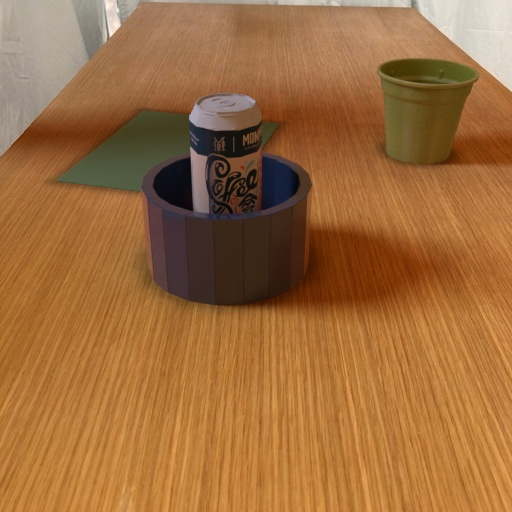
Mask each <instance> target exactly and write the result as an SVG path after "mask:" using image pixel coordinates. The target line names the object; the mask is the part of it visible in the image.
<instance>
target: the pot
mask: <svg viewBox="0 0 512 512" xmlns="http://www.w3.org/2000/svg"><path fill="white" fill-rule="evenodd" d="M140 193H141V205H142V216H143V217H142V218H143V224H144V225H143V229H144V237H145V238H144V239H145V240H144V241H145V251H146V261H147V262H146V263H147V269H148V272H149V274H150V276H151V279H152V280H153V282H154V283H155V284H157V285H158V286H159V287H160V288H161V289H163V290H164V291H166V293H169V295H173V296H175V297H178V298H180V299H183V300H185V301H188V302H192V303H198V304H203V305H204V304H205V305H211V306H243V305H244V306H245V305H249V304H254V303H258V302H264V301H267V300H270V299H271V300H272V299H273V298H276V297H278V296H280V295H282V294H284V293H286V292H289V291H290V290H292V289H293V288H294V287H296V285H297V284H298V283H299V282H300V281H302V280H303V279H304V278H305V275H306V272H307V269H308V267H309V260H310V241H311V240H310V238H311V222H312V221H311V219H312V199H313V182H312V178H311V176H310V173H309V172H308V171H307V170H306V169H304V167H302V166H301V165H300V164H299V163H298V162H296V161H293V160H291V159H289V158H286V157H284V156H282V155H279V154H278V155H277V154H274V153H270V152H266V151H262V198H261V211H255V212H249V213H243V214H210V213H202V212H195V211H193V194H192V172H191V153H190V152H189V153H186V154H182V155H179V156H175V157H172V158H169V159H167V160H165V161H163V162H161V163H159V164H157V165H155V166H153V167H152V168H151V169H150V170H149V171H148V172H147V173H146V174H145V175H144V177H143V181H142V185H141V192H140Z"/></svg>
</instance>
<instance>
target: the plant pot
mask: <svg viewBox="0 0 512 512" xmlns="http://www.w3.org/2000/svg"><path fill="white" fill-rule="evenodd" d="M376 74H377V76H379V78H380V87H381V90H382V91H383V108H384V109H383V110H384V111H383V112H384V132H385V135H384V137H385V152H386V154H387V155H388V156H389V157H391V158H392V159H394V160H397V161H399V162H403V163H406V164H407V163H408V164H413V165H434V164H439V163H443V162H445V161H447V160H448V158H449V157H450V155H451V151H452V148H453V145H454V141H455V137H456V134H457V131H458V127H459V124H460V120H461V117H462V113H463V111H464V108H465V104H466V102H467V99H468V97H469V96H470V95H471V93H472V89H473V86H474V84H475V83H477V82H478V80H479V78H480V72H479V71H478V69H476V68H475V67H473V66H470V65H468V64H465V63H461V62H458V61H453V60H448V59H441V58H429V57H407V58H405V57H404V58H395V59H390V60H386V61H384V62H381V63H380V64H379V65H377V67H376Z"/></svg>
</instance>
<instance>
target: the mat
mask: <svg viewBox="0 0 512 512" xmlns="http://www.w3.org/2000/svg"><path fill="white" fill-rule="evenodd" d="M189 116H190V114H185V113H175V112H165V111H164V112H163V111H153V110H145V109H143V110H141V111H140V113H138V114H136V116H134V117H133V118H131V120H129V121H128V122H127V123H126V124H124V125H123V126H122V127H120V129H118V130H117V131H115V132H114V133H113V134H112V135H110V136H109V137H108V138H106V139H105V140H104V142H101V144H99V145H98V146H97V147H95V148H94V149H93V150H92V151H90V152H89V153H88V154H86V156H85V157H82V158H81V160H80V161H78V162H77V163H76V164H75V165H73V166H72V167H71V168H70V169H69V170H67V171H66V172H64V173H63V174H62V175H61V176H59V178H57V179H56V180H55V182H57V183H65V184H73V185H82V186H89V187H97V188H104V189H105V188H106V189H113V190H122V191H127V192H128V191H129V192H135V193H141V185H142V181H143V177H144V175H145V174H146V173H147V172H148V171H149V170H150V169H151V168H152V167H153V166H155V165H157V164H159V163H161V162H163V161H165V160H167V159H169V158H172V157H175V156H179V155H182V154H186V153H189V152H190V153H191V151H190V129H189ZM279 126H280V123H278V122H270V121H269V122H268V121H262V150H263V149H264V148H265V146H266V145H267V143H268V142H269V141H270V139H271V138H272V136H273V134H275V132H276V130H277V129H278V127H279Z"/></svg>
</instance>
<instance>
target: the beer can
mask: <svg viewBox="0 0 512 512" xmlns="http://www.w3.org/2000/svg"><path fill="white" fill-rule="evenodd" d="M189 115H190V116H189V129H190V151H191V172H192V194H193V211H195V212H202V213H210V214H243V213H249V212H255V211H261V198H262V152H263V149H262V122H263V115H262V112H261V110H260V108H259V106H258V104H257V101H256V100H255V99H254V98H252V97H251V96H250V95H247V94H241V93H235V92H219V93H211V94H207V95H203V96H200V97H199V98H198V99H197V100H196V101H195V102H194V106H193V108H192V109H191V112H190V114H189Z"/></svg>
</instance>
